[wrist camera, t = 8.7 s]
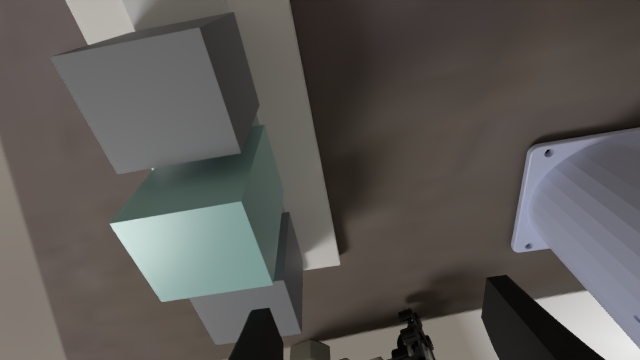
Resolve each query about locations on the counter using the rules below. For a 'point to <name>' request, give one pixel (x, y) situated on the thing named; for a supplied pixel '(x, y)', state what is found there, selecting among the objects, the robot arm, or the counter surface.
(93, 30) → the rail plate
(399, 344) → the valve
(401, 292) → the counter surface
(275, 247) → the block
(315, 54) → the counter surface
